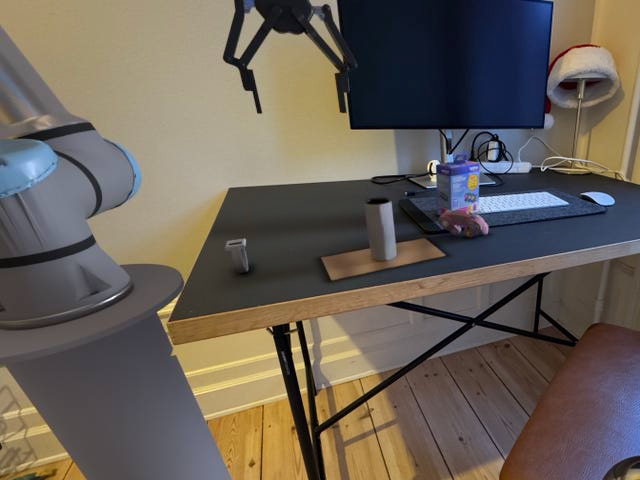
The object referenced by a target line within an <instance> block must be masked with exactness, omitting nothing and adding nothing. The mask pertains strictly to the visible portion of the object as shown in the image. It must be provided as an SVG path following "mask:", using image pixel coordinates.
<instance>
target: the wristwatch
mask: <svg viewBox="0 0 640 480" xmlns="http://www.w3.org/2000/svg"><path fill="white" fill-rule="evenodd" d="M246 246H247V239H246V238H238V239H231V240H227V241H226V243H225V246H224V251H225V252H230V255H231V259H232V262H233V266H234V269H235V271H236V272H237V273H238V274H241V273H242V274H243V273H248V271H249V261H248V255H247V252H246Z"/></svg>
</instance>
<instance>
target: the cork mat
mask: <svg viewBox="0 0 640 480" xmlns="http://www.w3.org/2000/svg"><path fill="white" fill-rule="evenodd" d="M396 252H397V256H396V257H395V258H393V259H391V260H387V261H376V260H373V259H372V258H371V253H370V248H364V249H360V250H359V249H358V250H354V251H348V252H344V253H339V254H334V255H328V256H323V257H320V259H321V261H322V263H323V265H324V268H325V270H326V272H327V274H328V276H329V279H330V281H331V282H333V281H338V280H342V279H349V278H352V277H357V276H361V275H365V274H366V275H367V274H371V273H374V272H379V271H383V270H388V269H393V268H396V267H402V266H407V265H411V264H415V263H419V262H426V261H428V260H429V261H430V260H435V259H438V258H444V257H446V255H447V254H445V253H444V252H443V251H442V250H440V249H439V248H438V247H437V246H435V245H434V244H433V243H431V242H430V241H429V240H427V238H425V237H423V238H418V239H412V240H407V241H402V242H396Z"/></svg>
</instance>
